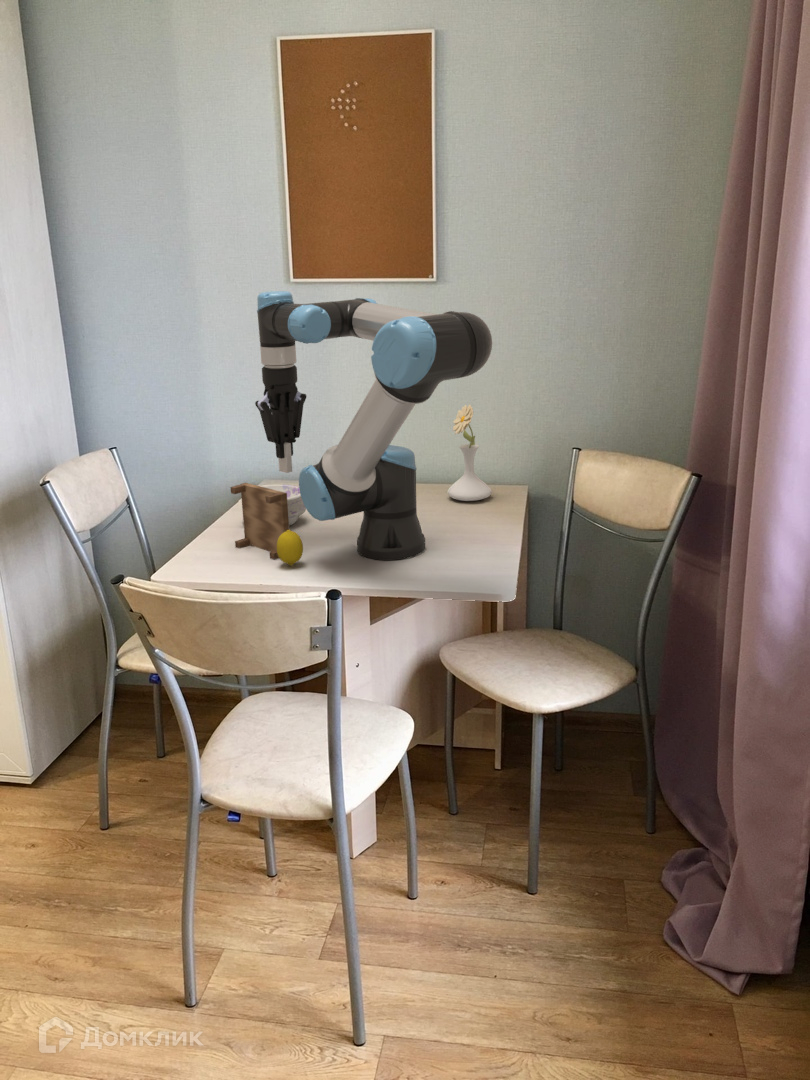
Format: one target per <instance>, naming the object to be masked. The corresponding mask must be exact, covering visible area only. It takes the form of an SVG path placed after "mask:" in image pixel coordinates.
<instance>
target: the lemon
mask: <svg viewBox="0 0 810 1080" xmlns="http://www.w3.org/2000/svg"><path fill="white" fill-rule="evenodd" d="M303 553H304V545H303V541H302V538H301V537H300V535H299V534H298V533H297V532H296V531H292V530H291V529H289V530H287V531H286V532H284V533H282V534H281V535H280V536H279V538H278V541H277V554H278V556H279V558H278V559H280V561H281V562H283V563H285V564H287V565H288V566H289V567H290V566H291V567H292V566H294V564H296V563H297V562H299V561H300V560H301V559H302V557H303Z"/></svg>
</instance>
